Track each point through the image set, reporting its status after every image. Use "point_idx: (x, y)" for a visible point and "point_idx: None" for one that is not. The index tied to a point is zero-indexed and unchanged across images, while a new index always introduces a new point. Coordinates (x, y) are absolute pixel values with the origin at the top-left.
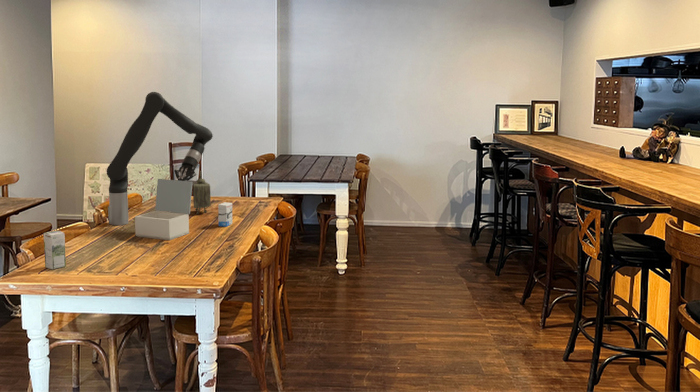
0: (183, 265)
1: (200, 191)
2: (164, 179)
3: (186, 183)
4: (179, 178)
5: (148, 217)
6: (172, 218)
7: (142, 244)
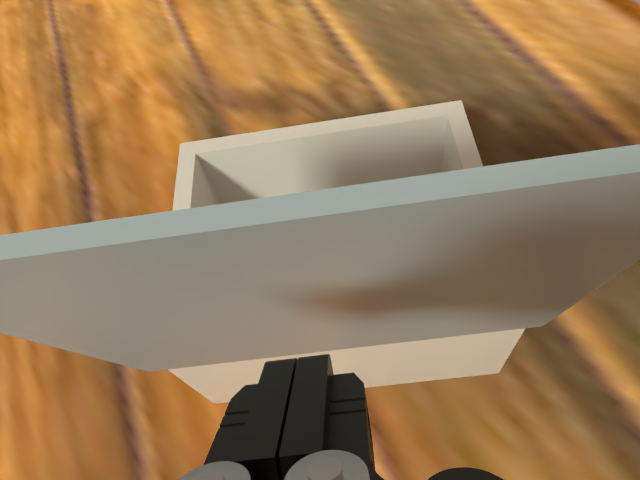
0: (3, 47)
1: None
2: (563, 155)
3: None
4: (311, 453)
5: (354, 124)
6: (187, 183)
7: (291, 117)
